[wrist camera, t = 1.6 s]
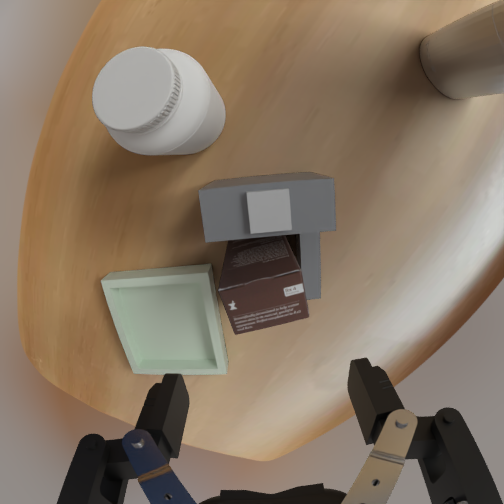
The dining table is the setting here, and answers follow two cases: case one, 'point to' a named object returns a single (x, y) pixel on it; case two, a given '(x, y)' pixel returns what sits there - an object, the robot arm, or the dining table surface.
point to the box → (261, 284)
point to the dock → (273, 214)
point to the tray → (168, 319)
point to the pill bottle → (158, 102)
